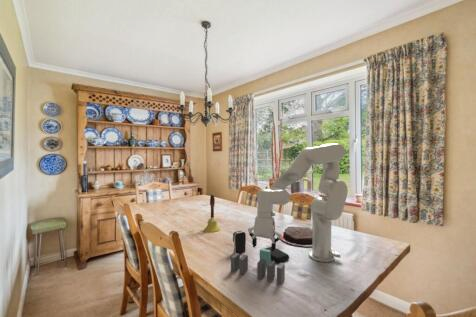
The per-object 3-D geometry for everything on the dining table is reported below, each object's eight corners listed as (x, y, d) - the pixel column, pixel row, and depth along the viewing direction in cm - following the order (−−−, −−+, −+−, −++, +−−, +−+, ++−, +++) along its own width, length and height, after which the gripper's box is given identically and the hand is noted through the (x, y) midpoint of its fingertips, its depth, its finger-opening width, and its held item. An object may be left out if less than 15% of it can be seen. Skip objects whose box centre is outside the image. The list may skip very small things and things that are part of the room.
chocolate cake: (328, 250, 133) (328, 238, 133) (278, 246, 139) (278, 235, 139) (320, 233, 161) (321, 224, 161) (279, 231, 166) (279, 221, 166)
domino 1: (239, 268, 111) (239, 253, 111) (234, 272, 107) (234, 257, 107) (235, 267, 112) (235, 252, 112) (230, 271, 108) (230, 257, 108)
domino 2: (247, 270, 109) (247, 255, 109) (243, 275, 105) (243, 259, 105) (244, 269, 110) (244, 254, 110) (239, 274, 106) (239, 258, 106)
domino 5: (274, 277, 103) (274, 261, 103) (271, 282, 99) (271, 266, 99) (270, 275, 104) (270, 260, 104) (266, 281, 100) (266, 265, 100)
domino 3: (261, 262, 118) (261, 248, 117) (270, 264, 115) (270, 250, 115) (259, 263, 116) (259, 249, 116) (269, 266, 113) (269, 251, 113)
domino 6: (284, 279, 101) (284, 263, 101) (281, 285, 97) (281, 268, 97) (280, 278, 102) (280, 262, 102) (276, 284, 98) (276, 267, 98)
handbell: (201, 231, 163) (200, 196, 162) (207, 226, 175) (207, 193, 174) (217, 233, 160) (217, 197, 160) (223, 227, 172) (223, 194, 172)
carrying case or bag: (292, 259, 121) (273, 250, 133) (292, 254, 121) (273, 244, 133) (277, 265, 115) (258, 254, 128) (277, 259, 115) (258, 248, 127)
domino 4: (265, 274, 105) (265, 259, 105) (261, 280, 101) (261, 264, 101) (261, 273, 106) (261, 258, 106) (257, 278, 102) (257, 263, 102)
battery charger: (242, 249, 133) (242, 229, 133) (246, 251, 130) (246, 231, 130) (231, 251, 130) (231, 231, 129) (235, 254, 126) (235, 233, 126)
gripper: (284, 215, 114) (282, 249, 115) (251, 210, 122) (250, 242, 122) (279, 218, 108) (278, 255, 108) (245, 213, 115) (244, 247, 116)
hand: (263, 248), depth 115 cm, fingers open, 9 cm apart
